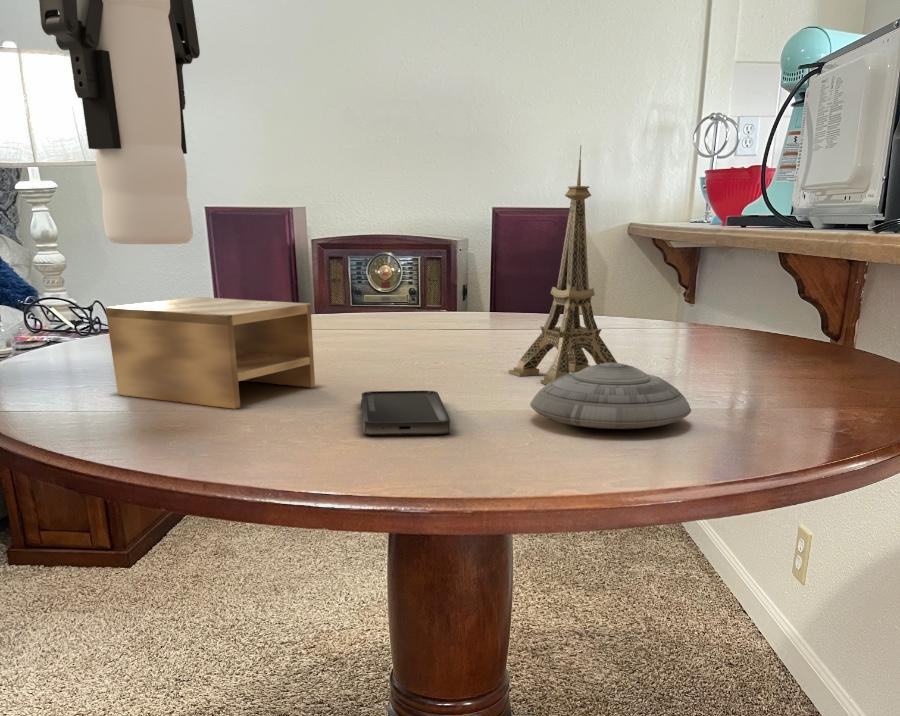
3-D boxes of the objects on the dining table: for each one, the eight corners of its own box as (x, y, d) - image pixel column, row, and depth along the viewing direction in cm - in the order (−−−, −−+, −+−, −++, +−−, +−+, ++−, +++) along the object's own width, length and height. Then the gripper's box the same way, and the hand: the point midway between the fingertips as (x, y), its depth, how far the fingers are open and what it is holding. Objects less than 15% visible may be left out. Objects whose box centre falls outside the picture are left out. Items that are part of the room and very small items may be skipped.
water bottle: (93, 244, 72) (38, -144, 62) (123, 240, 78) (78, -110, 68) (180, 245, 72) (139, -142, 62) (203, 241, 78) (170, -109, 68)
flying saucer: (499, 424, 83) (500, 364, 81) (578, 399, 94) (582, 346, 92) (645, 448, 75) (651, 382, 73) (714, 418, 86) (721, 360, 84)
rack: (117, 394, 96) (105, 307, 92) (205, 375, 107) (197, 296, 103) (235, 409, 89) (226, 315, 85) (315, 386, 101) (310, 303, 97)
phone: (436, 390, 92) (451, 421, 78) (436, 401, 93) (451, 433, 79) (360, 391, 91) (361, 422, 78) (360, 402, 92) (362, 435, 78)
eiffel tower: (508, 372, 110) (515, 146, 100) (581, 367, 114) (594, 149, 104) (552, 386, 101) (565, 140, 91) (629, 380, 105) (649, 143, 95)
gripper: (14, -288, 53) (75, 142, 63) (229, -173, 69) (253, 156, 79) (-66, -261, 57) (4, 144, 66) (157, -157, 72) (188, 157, 82)
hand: (139, 150), depth 72 cm, fingers closed on water bottle, 7 cm apart
